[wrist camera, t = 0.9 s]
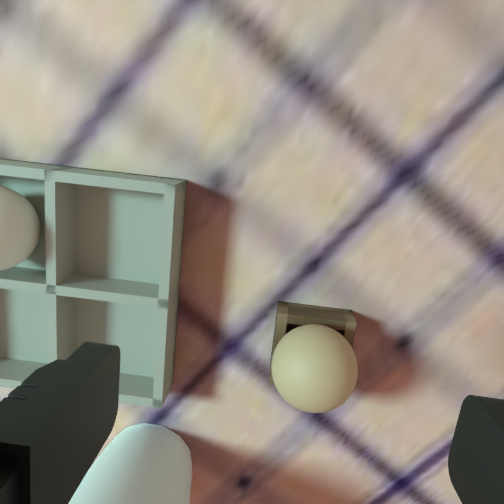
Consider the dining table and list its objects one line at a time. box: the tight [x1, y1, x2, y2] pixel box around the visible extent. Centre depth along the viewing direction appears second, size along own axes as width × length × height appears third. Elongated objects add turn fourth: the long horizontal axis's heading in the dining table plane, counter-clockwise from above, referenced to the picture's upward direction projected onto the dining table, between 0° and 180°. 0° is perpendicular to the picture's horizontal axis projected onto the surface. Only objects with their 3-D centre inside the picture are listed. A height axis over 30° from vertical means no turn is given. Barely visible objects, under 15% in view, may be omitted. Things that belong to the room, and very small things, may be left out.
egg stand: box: [269, 301, 357, 383], centre depth 28 cm, size 5×5×2 cm
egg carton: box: [0, 159, 187, 408], centre depth 27 cm, size 14×21×3 cm
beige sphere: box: [271, 324, 358, 413], centre depth 25 cm, size 5×5×5 cm
